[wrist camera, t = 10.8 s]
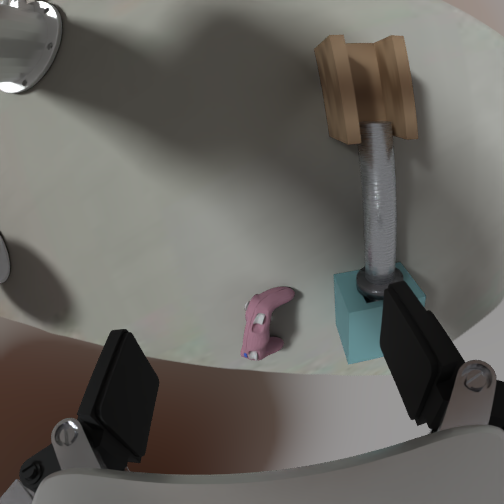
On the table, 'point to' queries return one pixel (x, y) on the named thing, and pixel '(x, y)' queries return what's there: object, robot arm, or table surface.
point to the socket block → (362, 316)
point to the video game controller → (263, 323)
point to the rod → (378, 210)
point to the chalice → (4, 262)
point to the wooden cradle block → (366, 86)
